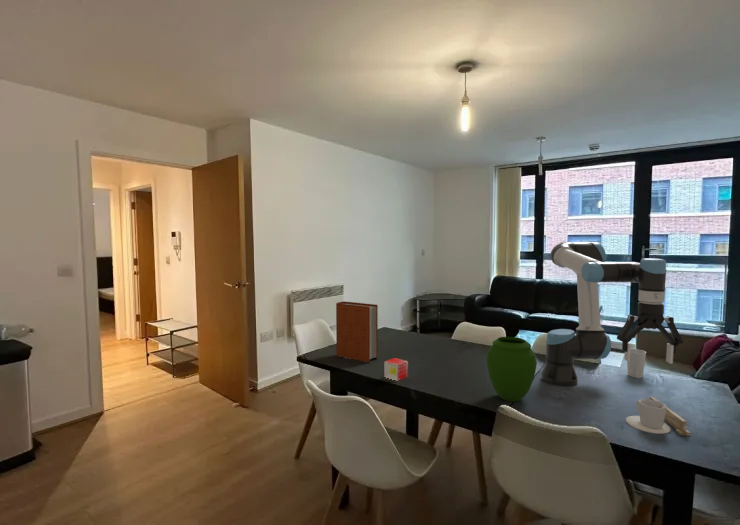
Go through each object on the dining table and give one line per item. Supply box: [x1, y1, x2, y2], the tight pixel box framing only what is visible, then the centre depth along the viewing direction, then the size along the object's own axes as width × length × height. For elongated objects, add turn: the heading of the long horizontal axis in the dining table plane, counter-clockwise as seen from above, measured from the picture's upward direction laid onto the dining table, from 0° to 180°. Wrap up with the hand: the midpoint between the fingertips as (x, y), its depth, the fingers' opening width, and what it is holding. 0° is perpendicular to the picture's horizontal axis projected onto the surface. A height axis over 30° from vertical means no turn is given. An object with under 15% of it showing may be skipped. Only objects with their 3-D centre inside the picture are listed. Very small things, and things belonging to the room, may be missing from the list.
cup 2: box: [635, 398, 667, 429], centre depth 141 cm, size 11×8×8 cm
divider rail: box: [649, 396, 691, 436], centre depth 145 cm, size 3×22×4 cm, turn 171°
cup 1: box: [626, 348, 647, 379], centre depth 192 cm, size 8×8×12 cm
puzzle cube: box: [383, 357, 409, 382], centre depth 190 cm, size 8×8×8 cm
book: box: [335, 301, 379, 363], centre depth 221 cm, size 23×8×30 cm, turn 58°
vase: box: [486, 336, 538, 403], centre depth 165 cm, size 20×20×24 cm
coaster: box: [625, 415, 671, 435], centre depth 142 cm, size 13×13×1 cm
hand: (648, 361), depth 143 cm, fingers open, 13 cm apart
